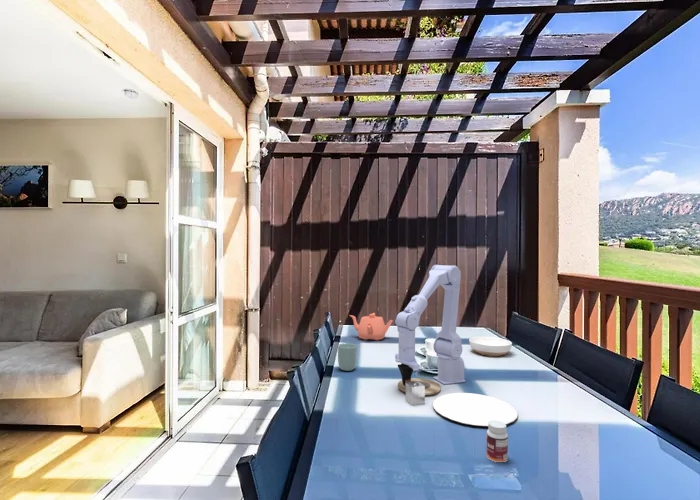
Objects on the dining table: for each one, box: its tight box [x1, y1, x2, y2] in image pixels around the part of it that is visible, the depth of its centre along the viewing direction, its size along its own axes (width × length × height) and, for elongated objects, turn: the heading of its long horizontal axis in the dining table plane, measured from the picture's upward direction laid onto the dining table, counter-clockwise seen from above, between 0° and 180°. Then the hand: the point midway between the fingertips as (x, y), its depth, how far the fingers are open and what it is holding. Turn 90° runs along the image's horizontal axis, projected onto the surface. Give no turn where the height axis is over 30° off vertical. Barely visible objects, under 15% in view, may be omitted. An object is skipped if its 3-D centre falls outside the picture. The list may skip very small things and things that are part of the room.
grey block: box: [405, 381, 426, 406], centre depth 128 cm, size 4×4×6 cm
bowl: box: [468, 336, 513, 357], centre depth 190 cm, size 20×20×6 cm
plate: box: [432, 392, 518, 428], centre depth 121 cm, size 25×25×2 cm
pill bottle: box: [486, 420, 509, 463], centre depth 94 cm, size 5×5×8 cm
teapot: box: [348, 312, 394, 342], centre depth 219 cm, size 18×18×14 cm
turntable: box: [397, 377, 442, 396], centre depth 140 cm, size 15×15×4 cm
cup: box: [337, 342, 358, 372], centre depth 163 cm, size 8×8×10 cm
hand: (406, 385), depth 137 cm, fingers closed, pressing on turntable
